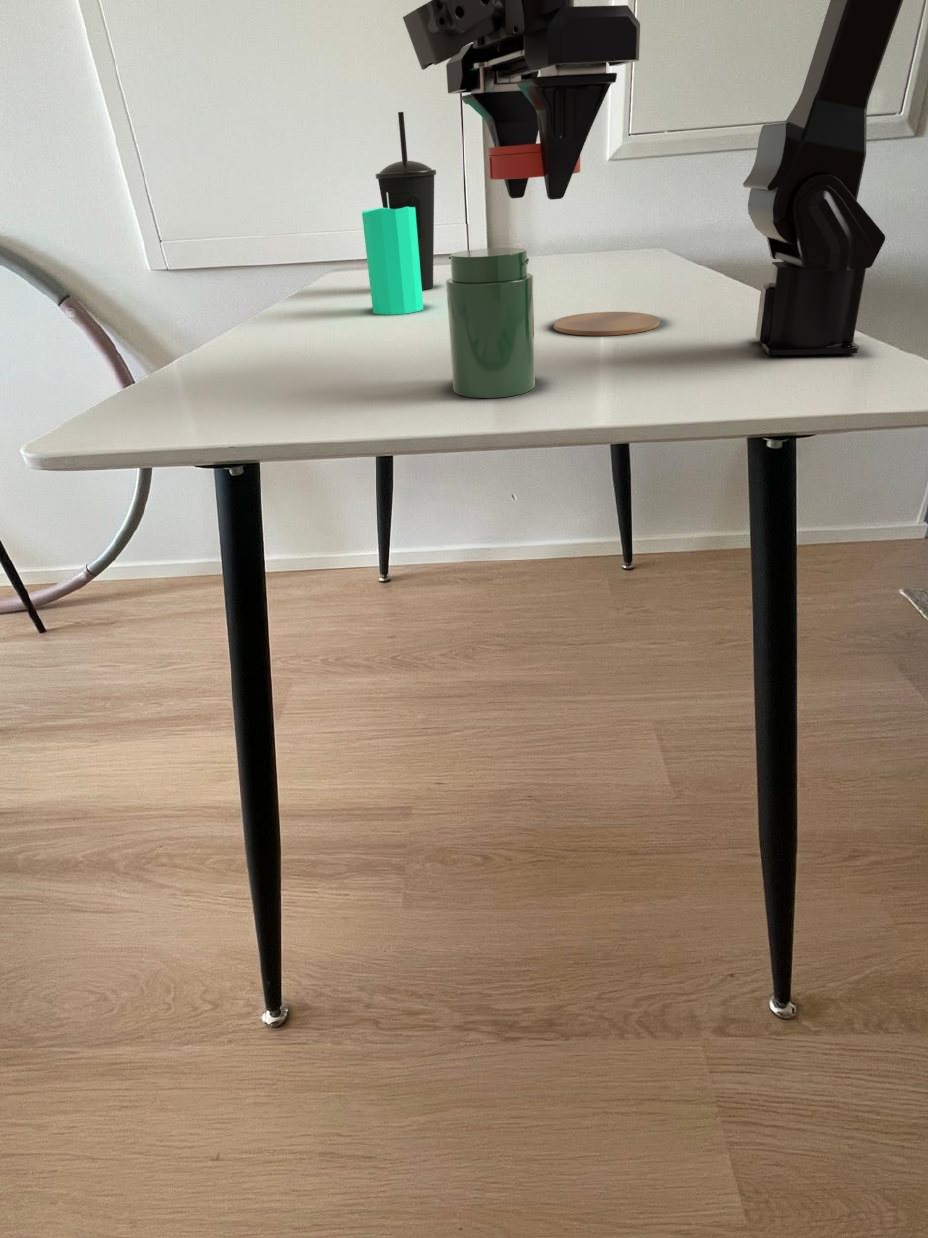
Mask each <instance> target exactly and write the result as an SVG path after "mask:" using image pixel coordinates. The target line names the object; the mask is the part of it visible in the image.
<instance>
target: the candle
mask: <svg viewBox="0 0 928 1238" xmlns="http://www.w3.org/2000/svg"><path fill="white" fill-rule="evenodd" d="M387 204H388V208H383V206H382V207H377V208H372V209H367V210H362V211H361V216H362V217H361V218H362V224H363V225H362V226H363V227H362V228H363V235H364V236H363V237H364V243H365V245H364V246H365V253H366V261H367V270H368V279H369V289H370V297H371V298H370V299H371V308H372V313H373V314H376V315H389V316H390V315H403V314H411V313H417V312H420V311H422V310H424V298H423V297H424V296H423V290H422V285H421V273H420V260H419V248H418V236H417V224H416V211H415V207H404V208H399V209H389V201H388V192H387Z"/></svg>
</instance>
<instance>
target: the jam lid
mask: <svg viewBox="0 0 928 1238" xmlns="http://www.w3.org/2000/svg"><path fill="white" fill-rule="evenodd" d="M486 151H487V169H488V179H489V180H491V181H493V180H494V181H495V180H496V181H497V180H499V181H501V180H504V179H518V178H528V179H530V178H531V179H532V178H544V172H543V164H542V155H541V146H540V142H539V143H536V144H526V145H514V146H502V147H494V146H492V147H487V149H486ZM579 173H581V155H580V156H579V159H578V161H577V164H576V167H575V169H574V172H573V174H572V175H574V174H579Z"/></svg>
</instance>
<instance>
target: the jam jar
mask: <svg viewBox="0 0 928 1238" xmlns="http://www.w3.org/2000/svg"><path fill="white" fill-rule="evenodd" d="M448 260H450V271H451V277H450V278H448V279H446V281H445V285H446V301H447V302H446V303H447V315H448V328H449V331H448V332H449V342H450V344H449V345H450V346H449V347H450V360H451V374H452V376H451V377H452V390H453V392H454V393H455V394H456V395H459V396H461V397H462V396H463V397H467V398H474V399H496V398H497V399H499V398H507V397H513V396H519V395H522V394H525V393H528V392H530V391H531V390H533V389H534V388H535V386H536V376H535V375H536V370H535V369H536V367H535V303H534V300H535V299H534V296H535V295H534V275H533V274H532V273H529V272H528V265H529V263H530V259H529V258H528V250H527V249H526V248H522V247H521V248H520V247H489V248H478V249H477V248H475V249H468V250H462V251H457V252H453V253H451V254H449V256H448Z"/></svg>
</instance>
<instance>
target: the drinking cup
mask: <svg viewBox="0 0 928 1238" xmlns="http://www.w3.org/2000/svg"><path fill="white" fill-rule="evenodd" d="M404 112H405V111H398V112H397V117H398V128H399V129H398V130H399V141H400V151H401V161H395V162H393V163H391V164H388V165H387V166H385V167H383V169H381V171H380V172H377V173H375V179H376V180H377V181H378V187H379V192H380V198H381V205H382V207H383V208H388V204H387V192H388V201H389V209H399V208H404V207H415V211H416V224H417V236H418V248H419V260H420V273H421V285H422V291H425V290H430V289H433V288H434V249H435V247H434V246H435V245H434V240H435V239H434V238H435V237H434V236H435V235H434V234H435V176H436V175H437V170H436V169H432V168H431V167H430V166H428V165H427V164H425V163H422V162H419V161H416V160H415V161H414V160H408V149H407V137H406V126H405V113H404Z"/></svg>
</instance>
